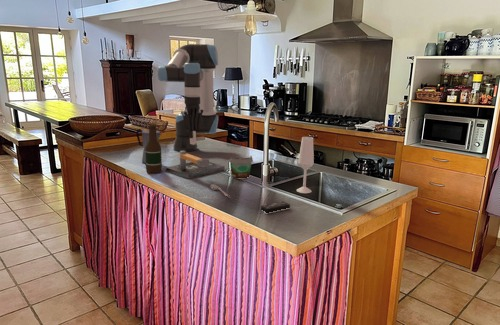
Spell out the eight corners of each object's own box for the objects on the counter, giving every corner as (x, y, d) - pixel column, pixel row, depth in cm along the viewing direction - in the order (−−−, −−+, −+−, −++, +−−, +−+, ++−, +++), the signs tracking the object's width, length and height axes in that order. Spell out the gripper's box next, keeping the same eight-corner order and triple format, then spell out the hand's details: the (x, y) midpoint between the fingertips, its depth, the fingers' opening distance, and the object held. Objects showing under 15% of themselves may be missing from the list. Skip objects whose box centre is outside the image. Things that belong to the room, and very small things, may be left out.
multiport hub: (290, 210, 144) (290, 204, 143) (266, 215, 139) (266, 209, 138) (283, 206, 148) (283, 201, 147) (260, 211, 142) (260, 205, 142)
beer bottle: (165, 170, 190) (163, 124, 184) (156, 174, 183) (154, 126, 177) (151, 169, 193) (150, 123, 186) (143, 172, 185) (140, 125, 179)
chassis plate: (202, 163, 207) (202, 158, 206) (224, 169, 195) (224, 165, 194) (165, 171, 189) (165, 166, 189) (188, 179, 178) (188, 174, 177)
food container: (234, 180, 177) (234, 160, 174) (228, 177, 182) (229, 157, 180) (256, 178, 183) (257, 158, 180) (251, 174, 188) (251, 155, 185)
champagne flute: (296, 192, 163) (299, 138, 157) (296, 187, 170) (300, 135, 164) (311, 193, 162) (315, 139, 156) (311, 188, 169) (315, 136, 163)
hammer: (209, 176, 174) (209, 158, 172) (200, 178, 171) (200, 159, 169) (185, 167, 188) (185, 150, 186) (177, 169, 185) (177, 151, 183)
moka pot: (158, 165, 200) (157, 128, 195) (132, 163, 203) (130, 126, 198) (166, 161, 209) (165, 125, 204) (140, 159, 212) (139, 124, 207)
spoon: (216, 186, 169) (216, 183, 169) (239, 201, 152) (239, 197, 152) (208, 188, 167) (208, 184, 167) (230, 202, 150) (230, 198, 150)
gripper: (196, 94, 186) (196, 141, 192) (176, 96, 176) (177, 144, 182) (207, 96, 182) (207, 143, 188) (188, 97, 172) (188, 147, 178)
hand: (192, 144), depth 185 cm, fingers closed
